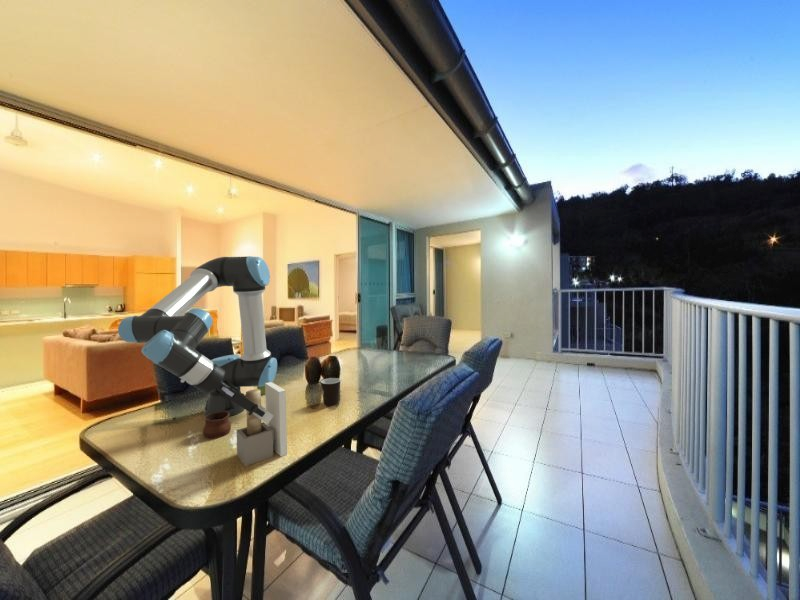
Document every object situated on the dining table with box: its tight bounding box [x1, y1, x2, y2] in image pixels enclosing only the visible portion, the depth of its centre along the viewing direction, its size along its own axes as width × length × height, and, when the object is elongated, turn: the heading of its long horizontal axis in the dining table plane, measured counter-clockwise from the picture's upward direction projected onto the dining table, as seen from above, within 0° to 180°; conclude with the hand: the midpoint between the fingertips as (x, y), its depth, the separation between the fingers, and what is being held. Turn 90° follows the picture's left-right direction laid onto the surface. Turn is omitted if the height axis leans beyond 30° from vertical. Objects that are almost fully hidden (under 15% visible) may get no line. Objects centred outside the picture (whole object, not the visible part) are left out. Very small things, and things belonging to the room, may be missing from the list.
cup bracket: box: [236, 382, 288, 467], centre depth 95 cm, size 12×12×20 cm
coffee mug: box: [320, 377, 342, 407], centre depth 139 cm, size 12×9×10 cm
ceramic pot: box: [202, 411, 240, 440], centre depth 109 cm, size 18×18×7 cm
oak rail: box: [245, 388, 262, 437], centre depth 93 cm, size 4×4×16 cm
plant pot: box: [256, 381, 274, 396], centre depth 152 cm, size 9×9×9 cm
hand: (266, 415), depth 96 cm, fingers open, 7 cm apart
